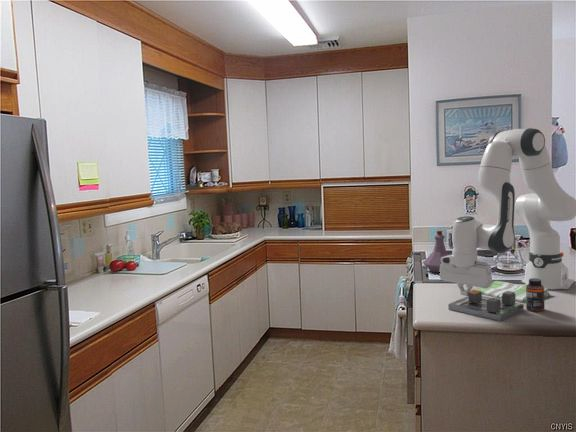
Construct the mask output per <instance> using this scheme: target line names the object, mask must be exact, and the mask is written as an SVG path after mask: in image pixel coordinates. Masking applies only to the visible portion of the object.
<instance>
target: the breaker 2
mask: <svg viewBox="0 0 576 432" xmlns="http://www.w3.org/2000/svg"><path fill="white" fill-rule="evenodd" d="M501 300H502V304H506V305H512V304H514V303H516V301H515V292H511V291H506V292H504V293H503V294H502V298H501Z"/></svg>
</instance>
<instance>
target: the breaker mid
mask: <svg viewBox="0 0 576 432" xmlns="http://www.w3.org/2000/svg"><path fill="white" fill-rule="evenodd" d="M482 296H483V294H482V292H481V290H476V289H475V288H474V289H471V290H470V291H469V302H472V303H478V302H480V301H482Z"/></svg>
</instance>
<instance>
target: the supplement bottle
mask: <svg viewBox="0 0 576 432" xmlns="http://www.w3.org/2000/svg"><path fill="white" fill-rule="evenodd" d="M525 286H526V303H525V308H526V310H527V311H529V312H535V313H536V312H537V313H539V312H543V311H545V297H544V286H543V285H541V279H537V278H531V279H529V284H528V285H525Z"/></svg>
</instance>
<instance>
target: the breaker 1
mask: <svg viewBox="0 0 576 432" xmlns="http://www.w3.org/2000/svg"><path fill="white" fill-rule="evenodd" d="M489 298H490V299H488V300H487V311H490V312H494V313H495V312H497V311H499V310H501V301H500V300H501V298H497V297H489Z"/></svg>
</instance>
